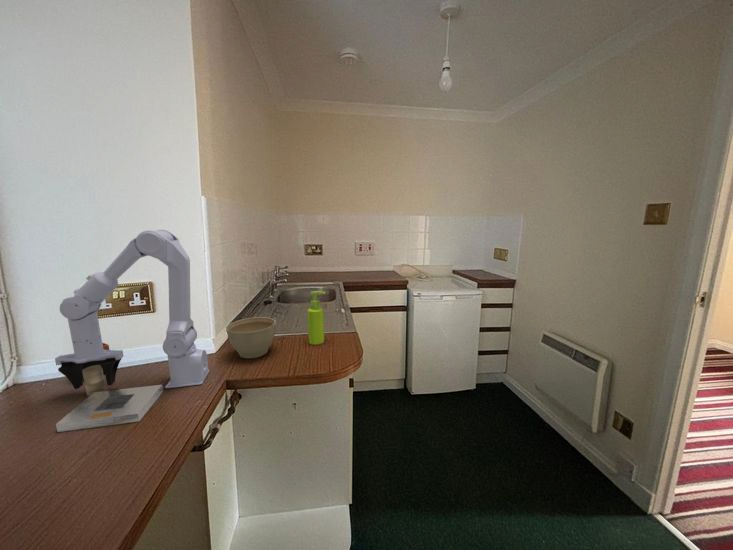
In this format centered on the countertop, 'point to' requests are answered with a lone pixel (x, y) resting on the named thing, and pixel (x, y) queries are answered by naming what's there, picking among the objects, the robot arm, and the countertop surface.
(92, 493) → the countertop surface
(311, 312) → the soap dispenser
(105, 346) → the battery
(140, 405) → the light grey flat block
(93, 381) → the barrel peg
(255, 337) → the planter bowl
